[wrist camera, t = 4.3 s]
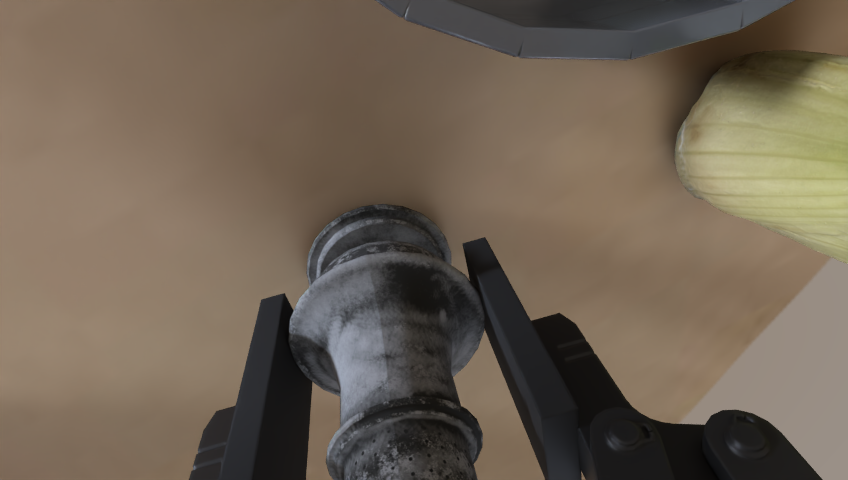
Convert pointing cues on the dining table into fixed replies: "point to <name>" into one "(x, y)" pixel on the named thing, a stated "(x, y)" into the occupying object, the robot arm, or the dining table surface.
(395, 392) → the salt shaker
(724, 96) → the fennel bulb
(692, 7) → the pan
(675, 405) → the dining table surface
